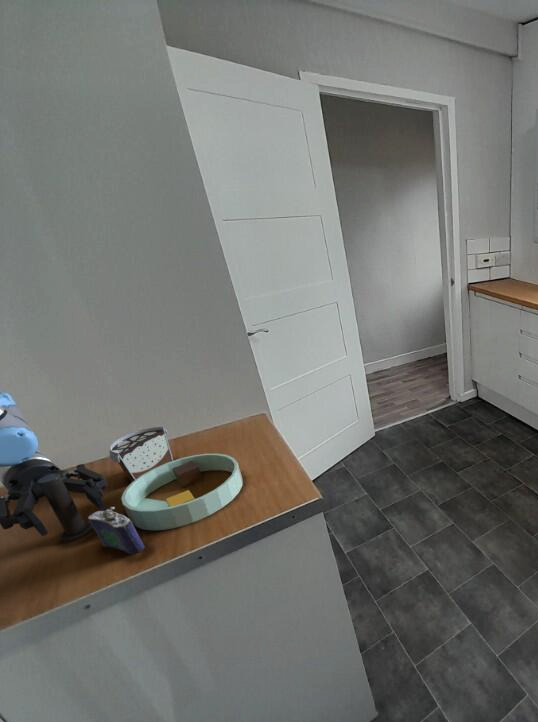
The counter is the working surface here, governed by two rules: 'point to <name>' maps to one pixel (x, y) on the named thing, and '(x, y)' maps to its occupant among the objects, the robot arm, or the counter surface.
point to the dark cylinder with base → (64, 508)
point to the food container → (141, 451)
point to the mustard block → (179, 498)
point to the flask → (116, 531)
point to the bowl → (164, 517)
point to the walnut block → (187, 474)
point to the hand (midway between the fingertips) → (72, 515)
